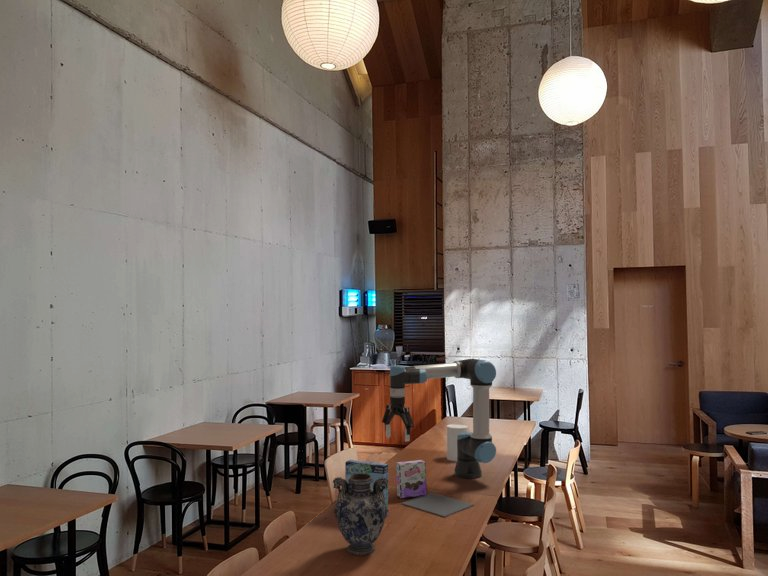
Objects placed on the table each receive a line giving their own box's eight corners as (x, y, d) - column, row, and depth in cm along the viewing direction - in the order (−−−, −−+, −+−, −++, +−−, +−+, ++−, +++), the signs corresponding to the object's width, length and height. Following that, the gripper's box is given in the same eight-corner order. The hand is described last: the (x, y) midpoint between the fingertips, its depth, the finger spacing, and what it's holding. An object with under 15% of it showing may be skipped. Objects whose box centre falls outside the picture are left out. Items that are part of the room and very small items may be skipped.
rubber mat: (431, 493, 296) (431, 492, 296) (474, 505, 278) (474, 504, 278) (401, 504, 280) (401, 502, 280) (444, 517, 262) (444, 516, 262)
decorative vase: (388, 539, 237) (387, 468, 237) (390, 559, 218) (389, 483, 219) (334, 540, 236) (334, 469, 237) (331, 560, 217) (331, 484, 218)
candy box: (400, 498, 287) (398, 464, 288) (397, 495, 292) (395, 461, 294) (427, 495, 290) (425, 461, 292) (423, 492, 296) (421, 459, 297)
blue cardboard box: (344, 513, 268) (344, 461, 269) (349, 509, 273) (349, 459, 274) (384, 519, 260) (383, 466, 261) (388, 515, 265) (388, 463, 266)
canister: (443, 457, 370) (443, 424, 370) (463, 455, 374) (463, 423, 374) (452, 462, 357) (452, 428, 357) (472, 460, 361) (472, 427, 362)
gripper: (375, 394, 306) (375, 436, 305) (410, 399, 289) (410, 444, 288) (385, 393, 311) (385, 434, 310) (420, 398, 294) (420, 441, 293)
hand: (397, 439), depth 299 cm, fingers open, 12 cm apart
